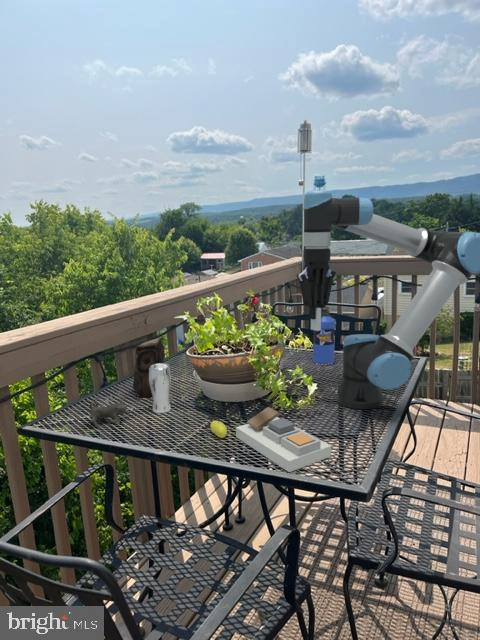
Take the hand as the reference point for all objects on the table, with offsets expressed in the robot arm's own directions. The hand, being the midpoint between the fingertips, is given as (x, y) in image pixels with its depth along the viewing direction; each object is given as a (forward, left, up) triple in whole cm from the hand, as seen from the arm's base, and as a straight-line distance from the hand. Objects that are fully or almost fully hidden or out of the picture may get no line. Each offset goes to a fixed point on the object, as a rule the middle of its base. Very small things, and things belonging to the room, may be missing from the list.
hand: (315, 329), depth 138 cm
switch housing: (+17, +6, -29) cm, 34 cm away
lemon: (+27, -11, -30) cm, 42 cm away
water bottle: (-46, -45, -30) cm, 71 cm away
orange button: (+17, +13, -26) cm, 34 cm away
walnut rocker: (+17, -2, -24) cm, 30 cm away
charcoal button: (+17, +6, -25) cm, 31 cm away
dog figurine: (+50, -37, -30) cm, 69 cm away
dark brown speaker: (+30, -56, -30) cm, 70 cm away
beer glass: (+33, -38, -30) cm, 58 cm away
